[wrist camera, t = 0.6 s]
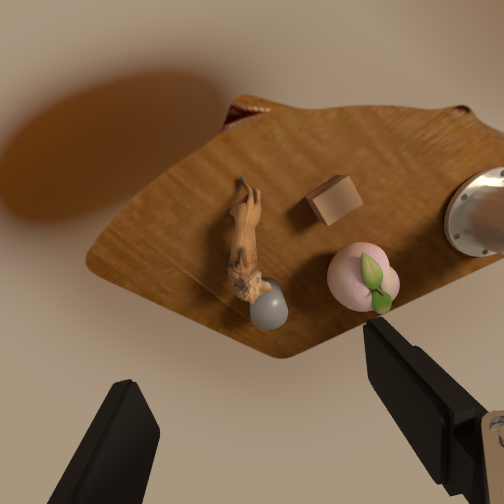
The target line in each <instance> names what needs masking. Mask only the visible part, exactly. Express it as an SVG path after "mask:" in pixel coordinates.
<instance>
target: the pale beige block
mask: <svg viewBox="0 0 504 504" xmlns="http://www.w3.org/2000/svg"><path fill="white" fill-rule="evenodd" d="M305 198H306V199H307V201H308V203H309V204H310V206H311V208H312V209H313V211H314V213H315V214H316V216H317V218H318V219H319V221H321V222H323V223H324V224H326V225H327V226H329V225H331V224H332V223H334V222H336V221H337V220H339V219H340V218H342V217H343V216H345V215H346V214H348V213H349V212H351V211H353V210H354V209H356V208H357V207H359V206H360V205H362V204H363V202H362V200H361V198H360V196H359V194H358V192H357V190H356V188H355V187H354V185H353V183H352V181H351V179H350V177H349V176H348V175H336V176H334V177H333V178H331V179H330V180H328V181H327V182H325V183H324V184H323V185H321V186H320V187H318V188H317V189H315V190H314V191H312V192H311V193H309V194H308V195H306V196H305Z"/></svg>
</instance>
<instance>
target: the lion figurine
mask: <svg viewBox="0 0 504 504" xmlns="http://www.w3.org/2000/svg"><path fill="white" fill-rule="evenodd" d="M240 180H241V184H242V185H243V186H244V187H245V188H246V190H247V192H248V200H247V202H246V203H241V204H240V203H237V204H236V205H235V206H234V207H233V208H232V209H231V210H230V214H231V216H234V219H235V223H236V228H235V231H234V234H233V239H232V243H231V252H230V255H231V256H230V260H229V263H228V266H227V270H228V274H229V278H230V280H231V285H232V286H233V288H234V290H235V293H236V294H237V297H238V298H241V299H242V300H245V301H248V302H250V303H251V304H253V303H254V301H255V300H256V298H258V296H261V295H262V294H263V293H267V292H270V291H271V290H272V287H271V286H270V283H269V282H267V281H264V280H262V279H261V272H260V271H259V265H258V262H257V256H256V252H257V249H256V248H255V247H256V238H255V227H256V225H257V223H258V221H259V220H260V214H261V211H262V209H261V203H260V196H261V193H260V190H259V189H254V190H253V192H252V189H251V188H250V187H249V186H248V185H247V183H246V180H245V179H244V177H243V176H240ZM253 198H255V202H254V199H253Z"/></svg>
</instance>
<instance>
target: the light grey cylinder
mask: <svg viewBox="0 0 504 504" xmlns="http://www.w3.org/2000/svg"><path fill="white" fill-rule="evenodd" d="M261 279H262V280H264V281H267V282H269V283H270V286H271V287H272V290H271V291H270V292H267V293H263V294H262V295H261V296H258V298H256V300H255V301H254V303H253V304H251V303H250V302H249V304H250V317H251V320H252V322H253V323H254V324H255V325H256V326H257V327H259V328H261V329H264V330H272V329H276V328H278V327H280V326H281V325H282V324H283V323H284V322H285V321H286V319H287V317H288V308H287V305H286V302H285V299H284V297H283V294H282V291H281V288H280V285H279V284H278V283H277V282H276V281H275V280H274V279H271V278H261Z"/></svg>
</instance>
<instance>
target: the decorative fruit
mask: <svg viewBox="0 0 504 504" xmlns="http://www.w3.org/2000/svg"><path fill="white" fill-rule="evenodd" d="M327 282H328V286H329V289H330V291H331V293H332V294H333V296H334V297H335V298H336V299H337V300H338V301H339V302H340V303H341V304H342V305H344V306H345V307H347V308H349V309H351V310H354V311H359V312H367V311H372V310H374V311H375V312H377V313H378V314H382V315H383V314H386V313H387V312H388V311H389V310H390V308H391V305H392V301H393V300H394V299H395V297H396V296H397V294H398V292H399V287H400V282H399V277H398V275H397V273H396V272H395V270H394V269H393V268H391V267H390V266H389V261H388V258H387V256H386V254H385V252H384V251H383V250H382V249H381V248H379V247H378V246H376V245H374V244H371V243H366V242H356V243H351V244H349V245H346V246H344V247H343V248H342V249H340V250H339V251H338V252H337V253H336V255H335V256H334V257H333V259H332V260H331V262H330V265H329V268H328V272H327Z"/></svg>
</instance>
